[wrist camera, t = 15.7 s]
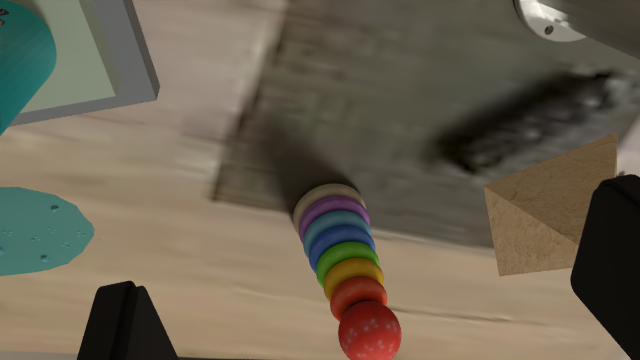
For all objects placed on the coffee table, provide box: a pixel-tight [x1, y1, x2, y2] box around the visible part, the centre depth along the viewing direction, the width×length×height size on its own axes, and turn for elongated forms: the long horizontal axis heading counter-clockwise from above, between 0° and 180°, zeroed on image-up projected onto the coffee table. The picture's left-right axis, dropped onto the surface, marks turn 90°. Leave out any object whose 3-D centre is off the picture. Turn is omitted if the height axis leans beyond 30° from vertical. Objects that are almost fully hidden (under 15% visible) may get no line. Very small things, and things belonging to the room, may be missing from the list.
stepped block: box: [8, 0, 160, 127], centre depth 33 cm, size 14×14×6 cm
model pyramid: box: [484, 132, 618, 276], centre depth 54 cm, size 17×17×10 cm
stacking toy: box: [293, 183, 401, 360], centre depth 43 cm, size 8×8×19 cm
